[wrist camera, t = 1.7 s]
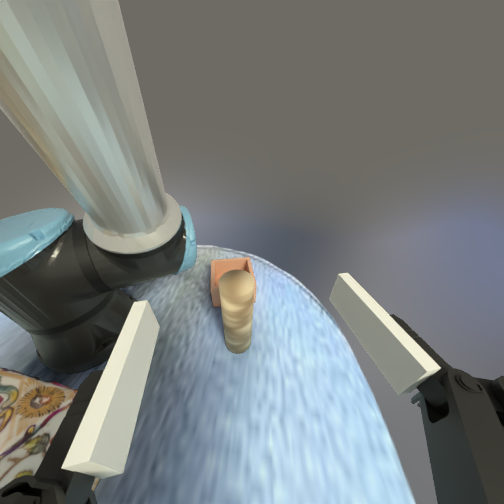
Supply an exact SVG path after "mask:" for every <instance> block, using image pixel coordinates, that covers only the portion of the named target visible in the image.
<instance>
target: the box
mask: <svg viewBox="0 0 504 504" xmlns="http://www.w3.org/2000/svg"><path fill="white" fill-rule="evenodd" d="M230 270H244V271H247V272H248V273H250V274H251V275H252V276H253V278H254V300H253V303H255V299H256V281H255V277H254V273H253V269H252V265H251V261H250V257H245V258H232V259H220V260H211V296H212V302H213V307H221V300H220V292H219V279H220V277H221V276H222V275H223V274H224V273H226V272H228V271H230Z"/></svg>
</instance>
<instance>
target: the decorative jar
mask: <svg viewBox="0 0 504 504" xmlns="http://www.w3.org/2000/svg"><path fill="white" fill-rule="evenodd" d="M77 391H78V390H76V389H72V388H70V387H68V386H64V385H62V384H60V383H57V382H43V381H42V379H41V378H38V377H29V376H26V375H24V374H22V373H20V372H18V371H13V370H8V369H6V368H0V489H1V488H2V487H4V486H5V485H7V484H8V483H9V482H11V481H12V480H14V479H15V478H18V477H21V476H23V475H31V476H34V475H35V473H36V471H37V470H38V468H39V466H40V464H41V462H42V460H43V458H44V456H45V454H46V452H47V450H48V448H49V446H50V444H51V442H52V440H53V438H54V436H55V434H56V432H57V430H58V428H59V426H60V424H61V422H62V420H63V418H64V417H65V416H66V413H67V411H68V409H69V407H70V405H71V404H72V402H73V399H74V397H75V395H76V393H77ZM99 480H100V478H96V477H95V480H94V483H93V486H92V490H93V491H94V490H95V488H96V486H97V484H98V482H99Z"/></svg>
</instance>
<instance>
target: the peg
mask: <svg viewBox="0 0 504 504" xmlns="http://www.w3.org/2000/svg"><path fill="white" fill-rule="evenodd" d="M219 292H220V300H221V309H222V318H223V327H224V335H225V344H226V347H227V348H228V350H229V351H231V352H232V353H236V354H240V353H243V352H245V351H246V350H247V349H248V348H249V347H250V345H251V336H252V318H253V300H254V278H253V276H252V275H251V274H250V273H248V272H247V271H244V270H230V271H228V272H226V273H224V274H223V275H222V276H221V277H220V279H219Z"/></svg>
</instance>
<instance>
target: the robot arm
mask: <svg viewBox="0 0 504 504" xmlns="http://www.w3.org/2000/svg"><path fill="white" fill-rule="evenodd" d="M0 108H1V110H2V111H3V112H4V113H5V115H6V116H7V117H8V118H9V119H10V121H11V122H12V123H13V124H14V125H15V127H16V128H17V129H18V130H19V132H20V133H21V134H22V135H23V136H24V138H25V139H26V140H27V141H28V142H29V144H30V145H31V146H32V147H33V149H34V150H35V151H36V152H37V153H38V155H39V156H40V157H41V158H42V159H43V161H44V162H45V163H46V164H47V165H48V167H49V168H50V169H51V170H52V172H53V173H54V174H55V175H56V176H57V178H58V179H59V180H60V181H61V182H62V184H63V185H64V186H65V187H66V189H67V190H68V191H69V192H70V193H71V195H72V196H73V197H74V198H75V199H76V201H77V202H78V203H79V204H80V205H81V207H82V208H83V209H84V210H85V214H84V218H83V219H81V220H75V219H74V216H73V215H72V214H71V213H70V212H68V211H67V210H65V209H61V208H58V209H56V208H47V209H39V210H34V211H30V212H25V213H22V214H18V215H14V216H11V217H8V218H5V219H2V220H0V312H2V313H3V314H4V315H6V316H7V317H9V318H10V319H11V320H13V321H14V322H15V323H17V324H18V325H20V326H21V327H22V328H24V329H25V330H26V331H28V332H29V333H30V334H31V337H32V339H33V341H34V343H35V346H36V348H37V355H38V358H39V360H40V361H41V362H42V363H43V364H44V365H45V366H47V367H48V368H50V369H51V370H53V371H55V372H59V373H76V372H80V371H84V370H87V369H90V368H92V367H95V366H97V365H99V364H101V363H103V362H104V361H106V360H108V359H109V360H108V363H107V365H106V367H105V369H104V370H101V371H96V372H91V373H90V375H89V376H88V377H87V378H86V379H85V380H84V382H83V383H82V384H81V385H80V387H79V389H78V391H77V393H76V395H75V397H74V399H73V402H72V404H71V405H70V407H69V409H68V411H67V413H66V416H65V417H64V418H63V420H62V422H61V424H60V426H59V428H58V430H57V432H56V434H55V436H54V438H53V440H52V442H51V444H50V446H49V448H48V450H47V452H46V454H45V456H44V458H43V460H42V462H41V464H40V466H39V468H38V470H37V471H36V473H35V475H34V476H31V475H23V476H21V477H18V478H15V479H14V480H12V481H11V482H9V483H8V484H7V485H5V486H4V487H2V488H1V489H0V504H97V501H96V498H95V495H94V492H93V490H92V486H93V483H94V480H95V477H96V478H100V479H104V478H108V477H111V476H115V475H119V474H122V473H124V469H125V465H126V461H127V457H128V453H129V449H130V445H131V441H132V437H133V433H134V429H135V425H136V421H137V417H138V413H139V409H140V405H141V401H142V397H143V393H144V388H145V384H146V380H147V376H148V372H149V368H150V364H151V360H152V356H153V352H154V348H155V344H156V340H157V336H158V332H159V328H160V326H159V324H158V322H157V320H156V317H155V315H154V313H153V311H152V309H151V307H150V305H149V302H148V300H145V301H138V302H136V301H135V300H134V298H132V297H131V296H130V295H128V294H125V293H124V292H123V291H122V290H120V288H124V287H128V286H131V285H135V284H139V283H142V282H146V281H150V280H153V279H157V278H161V277H165V276H168V275H176V274H178V273H180V272H182V271H185V270H188V269H190V268H192V267H193V266H194V264H195V262H196V258H197V245H196V242H195V240H196V237H195V230H194V226H193V222H192V219H191V216H190V213H189V211H188V210H187V208H186V207H184V206H179V205H178V204H177V202H176V201H175V199H174V198H172V197H171V196H170V195H169V194H167V193H165V191H164V187H163V182H162V178H161V174H160V170H159V166H158V162H157V158H156V154H155V149H154V145H153V142H152V137H151V133H150V129H149V125H148V121H147V117H146V113H145V109H144V105H143V101H142V97H141V92H140V88H139V84H138V80H137V76H136V72H135V68H134V64H133V60H132V55H131V51H130V47H129V43H128V39H127V36H126V31H125V27H124V23H123V19H122V15H121V11H120V6H119V3H118V0H0ZM329 300H330V301H331V303H332V304H333V305H334V307H335V308H336V310H337V311H338V312H339V314H340V315H341V317H342V318H343V319H344V321H345V322H346V323H347V325H348V326H349V328H350V329H351V331H352V332H353V333H354V335H355V336H356V338H357V339H358V340H359V342H360V343H361V345H362V346H363V347H364V349H365V350H366V352H367V353H368V354H369V356H370V357H371V358H372V360H373V361H374V363H375V364H376V365H377V367H378V368H379V369H380V371H381V372H382V374H383V375H384V377H385V378H386V379H387V381H388V382H389V384H390V385H391V386H392V388H393V389H394V391H395V392H396V393H397V395H398V396H399V395H403V394H406V393H410V392H411V391H412V390H414V389H415V388H417V389H418V390H419V391H420V392H419V393H417V394H416V395H415V396H414V397H413V398H412V400H411V402H412V403H413V404H414V403H416V402H417V401H419V403H418V406H419V407H421V413H422V419H423V424H424V430H425V435H426V440H427V446H428V452H429V457H430V463H431V468H432V473H433V479H434V485H435V490H436V496H437V501H438V504H504V376H501V377H499V378H497V379H495V380H487V379H481V378H474V377H472V376H471V375H469V374H468V373H466V372H464V371H462V370H458V369H454V368H452V367H451V366H450V365H448V364H447V363H446V362H445V361H444V360H443V359H442V358H441V357H440V356H439V355H438V354H437V353H436V352H435V351H434V350H433V349H432V348H431V347H430V346H429V345H428V344H427V343H426V342H425V341H424V340H423V339H422V338H420V337H419V336H418V335H417V334H416V333H415V332H414V331H412V329H411V328H410V327H409V326H408V325H407V324H406V323H405V322H404V321H403V320H401V319H400V318H398V317H396V316H395V315H394V314H393V315H388V313H387V312H386V311H385V310H384V309H383V308H382V307H381V306H380V305H379V304H378V303H377V302H376V301H375V300H374V299H373V298H372V297H371V296H370V295H369V294H368V293H367V292H366V291H365V290H364V289H363V288H362V287H361V286H360V285H359V284H358V283H357V282H356V281H355V280H354V279H353V278H352V277H351V276H350V275H349V274H348V273H342V274H338V276H337V280H336V282H335V285H334V288H333V290H332V293H331V296H330V298H329Z"/></svg>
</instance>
